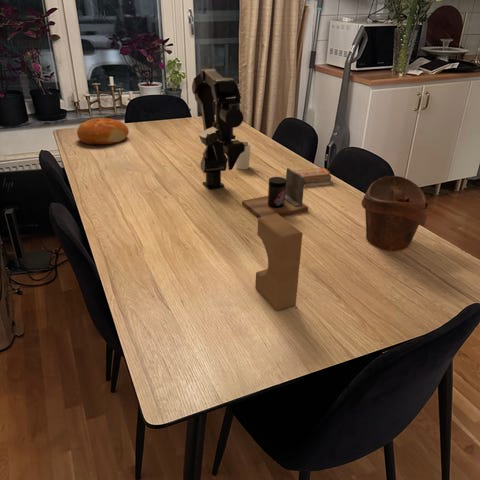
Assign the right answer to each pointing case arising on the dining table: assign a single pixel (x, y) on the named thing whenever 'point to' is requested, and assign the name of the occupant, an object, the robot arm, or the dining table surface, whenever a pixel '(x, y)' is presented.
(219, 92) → the robot arm
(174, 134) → the dining table surface
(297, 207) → the shelf board
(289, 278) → the decorative block
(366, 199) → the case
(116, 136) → the bread
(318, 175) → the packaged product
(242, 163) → the white cylindrical container
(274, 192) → the supplement container
